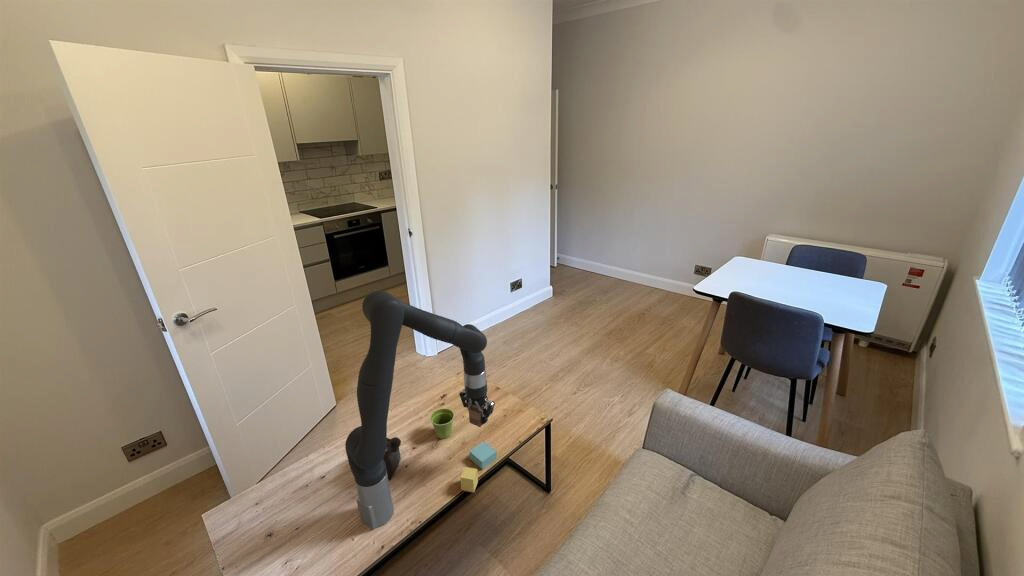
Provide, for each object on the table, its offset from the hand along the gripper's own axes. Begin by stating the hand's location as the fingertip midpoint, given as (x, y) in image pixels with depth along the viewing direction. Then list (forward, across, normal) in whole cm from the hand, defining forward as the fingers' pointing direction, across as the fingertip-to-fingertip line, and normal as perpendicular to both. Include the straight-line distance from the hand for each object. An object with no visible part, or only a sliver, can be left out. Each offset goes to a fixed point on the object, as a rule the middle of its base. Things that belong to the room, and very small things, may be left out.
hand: (478, 419), depth 144 cm
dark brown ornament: (+18, -25, -22) cm, 38 cm away
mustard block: (+18, +4, -12) cm, 22 cm away
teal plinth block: (+19, +1, 0) cm, 19 cm away
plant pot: (+18, -20, +2) cm, 27 cm away
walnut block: (+1, 0, 0) cm, 1 cm away
